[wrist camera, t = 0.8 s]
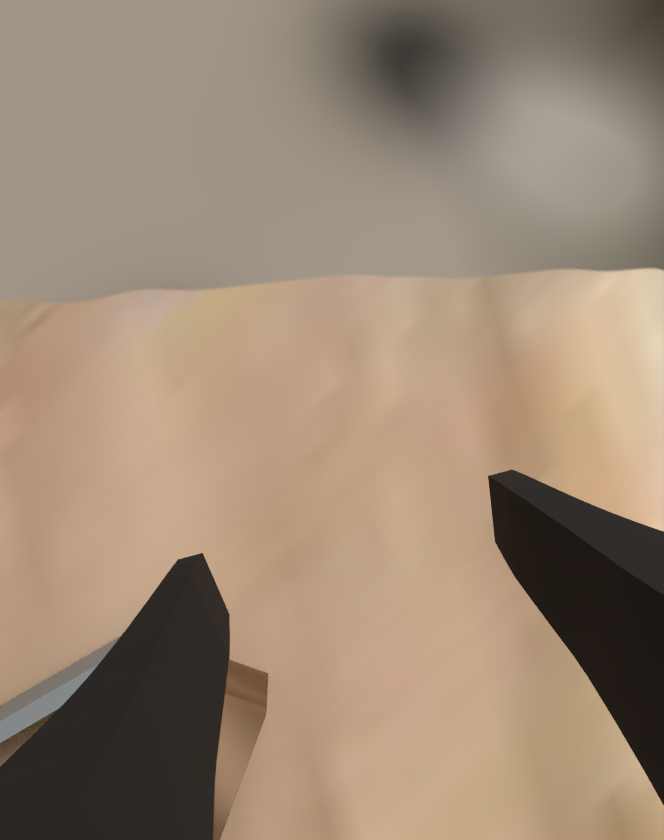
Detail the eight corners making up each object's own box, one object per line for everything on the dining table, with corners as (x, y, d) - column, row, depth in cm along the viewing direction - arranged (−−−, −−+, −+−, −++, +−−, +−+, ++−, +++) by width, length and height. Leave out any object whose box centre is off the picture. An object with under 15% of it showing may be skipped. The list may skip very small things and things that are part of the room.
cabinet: (198, 859, 30) (181, 942, 25) (78, 821, 29) (35, 898, 24) (268, 673, 31) (266, 713, 26) (156, 634, 31) (132, 667, 26)
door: (148, 618, 31) (120, 651, 25) (156, 634, 31) (130, 671, 25) (-40, 727, 29) (-115, 788, 23) (-31, 744, 29) (-105, 809, 23)
